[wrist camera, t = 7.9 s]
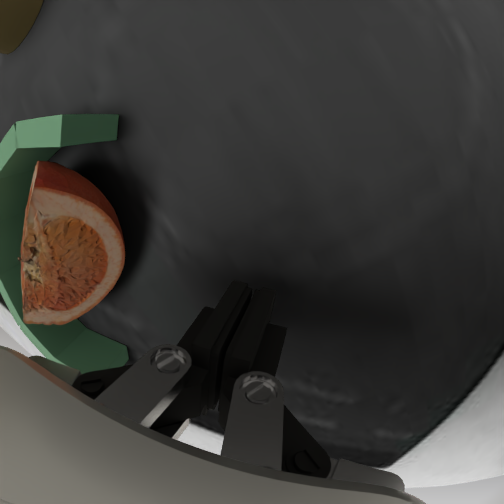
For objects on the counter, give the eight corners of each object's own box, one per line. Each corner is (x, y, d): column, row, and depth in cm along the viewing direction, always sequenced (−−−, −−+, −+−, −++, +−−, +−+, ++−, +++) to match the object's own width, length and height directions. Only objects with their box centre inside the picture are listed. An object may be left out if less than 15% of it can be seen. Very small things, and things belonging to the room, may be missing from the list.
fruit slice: (112, 315, 15) (60, 366, 11) (42, 247, 15) (-14, 280, 10) (167, 201, 12) (90, 240, 7) (75, 129, 11) (-4, 139, 7)
